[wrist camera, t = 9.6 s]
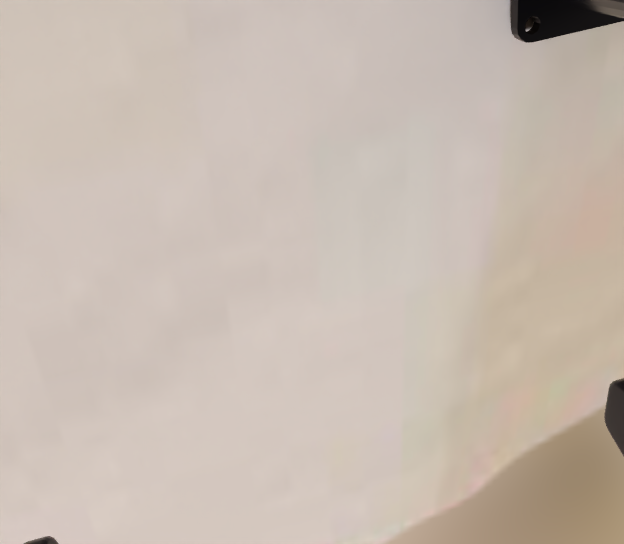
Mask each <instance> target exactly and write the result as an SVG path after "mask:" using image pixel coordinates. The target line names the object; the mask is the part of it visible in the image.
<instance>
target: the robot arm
mask: <svg viewBox="0 0 624 544" xmlns="http://www.w3.org/2000/svg"><path fill="white" fill-rule="evenodd" d="M531 17H533V20H534V23H533V27H532V28H531V29H530V30H529V31H527V32H526V31H525V24H526V22H527V20H528V19H529V18H531ZM621 21H624V0H511V30H512V34H513V35H514V37H515V38H517V39H519V40H521V41H524V42H536V41H540V40H544V39H549V38H553V37H557V36H561V35H566V34H570V33H574V32H578V31H583V30H587V29H591V28H596V27H600V26H604V25H608V24H613V23H617V22H621ZM605 423H606V426H607V428H608V430H609V432H610V434H611V435H612V437H613V439H614V440H615V442H616V444H617V446H618V447H619V449H620V451H621V452H622V454H623V456H624V378H623V379H619V380H616V381H613V382H612V383H611V384H610V387H609V391H608V397H607V403H606V409H605ZM24 544H58V542H57V541H56V540H55V539H54V538H52V537H50V536H47V537H43V538H39V539H35V540H32V541H28V542H26V543H24Z"/></svg>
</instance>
